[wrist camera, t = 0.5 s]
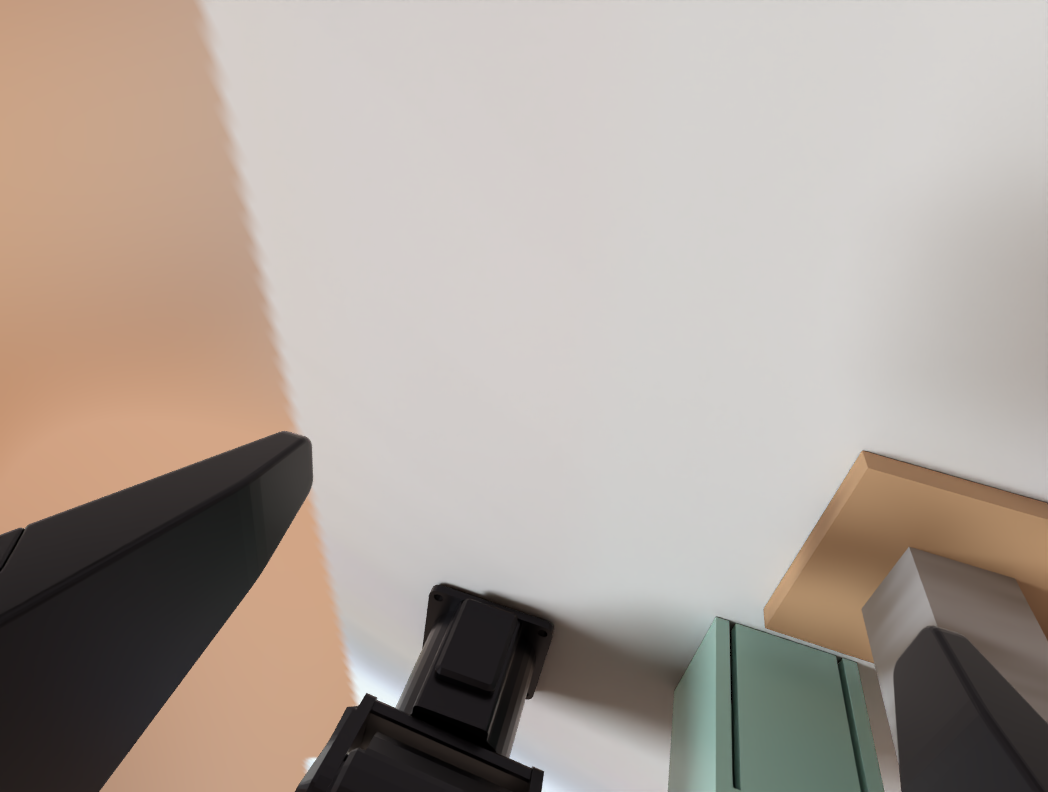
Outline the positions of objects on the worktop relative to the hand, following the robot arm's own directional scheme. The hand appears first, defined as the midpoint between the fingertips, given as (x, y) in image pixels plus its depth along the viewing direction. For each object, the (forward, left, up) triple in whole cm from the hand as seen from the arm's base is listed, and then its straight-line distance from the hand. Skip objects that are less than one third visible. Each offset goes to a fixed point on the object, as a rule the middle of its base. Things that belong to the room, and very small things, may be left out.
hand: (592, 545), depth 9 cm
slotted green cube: (-19, -10, -13) cm, 25 cm away
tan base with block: (-10, -13, -13) cm, 21 cm away
